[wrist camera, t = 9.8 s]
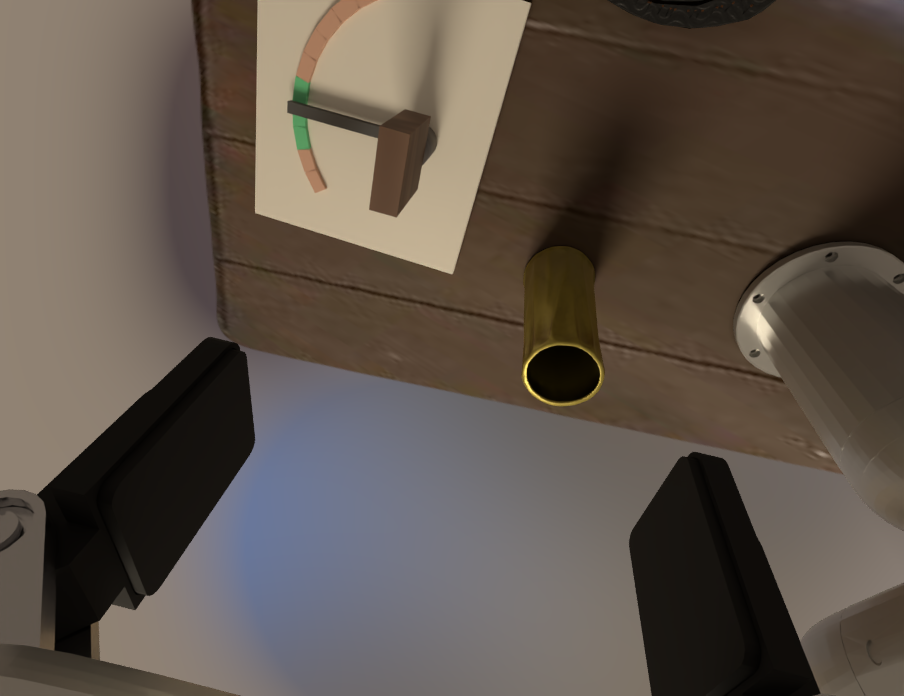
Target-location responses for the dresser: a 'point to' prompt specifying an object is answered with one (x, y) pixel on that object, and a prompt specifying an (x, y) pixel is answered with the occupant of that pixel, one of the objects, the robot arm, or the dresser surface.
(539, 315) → the vase
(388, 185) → the tuner needle gauge
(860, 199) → the dresser surface
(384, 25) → the board
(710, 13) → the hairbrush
